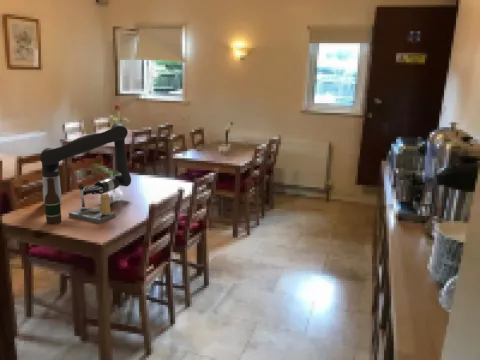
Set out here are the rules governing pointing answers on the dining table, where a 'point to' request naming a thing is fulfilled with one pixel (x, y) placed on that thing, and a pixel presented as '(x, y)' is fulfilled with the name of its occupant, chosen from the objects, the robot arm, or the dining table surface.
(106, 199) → the slider knob
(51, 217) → the beer bottle
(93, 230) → the dining table surface
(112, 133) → the robot arm
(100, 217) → the control box
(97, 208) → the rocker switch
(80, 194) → the toggle lever
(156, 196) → the dining table surface
